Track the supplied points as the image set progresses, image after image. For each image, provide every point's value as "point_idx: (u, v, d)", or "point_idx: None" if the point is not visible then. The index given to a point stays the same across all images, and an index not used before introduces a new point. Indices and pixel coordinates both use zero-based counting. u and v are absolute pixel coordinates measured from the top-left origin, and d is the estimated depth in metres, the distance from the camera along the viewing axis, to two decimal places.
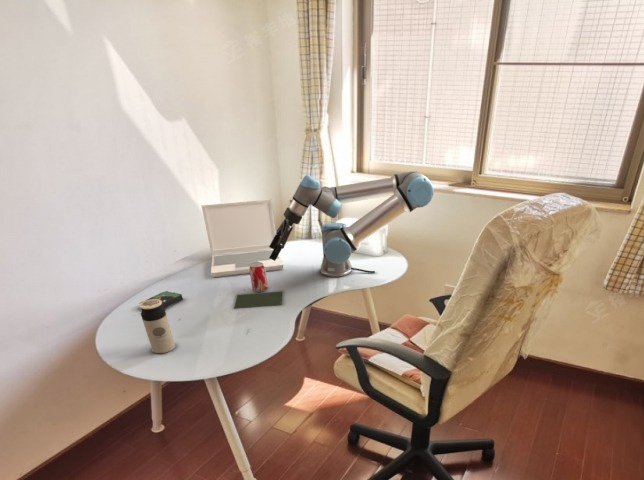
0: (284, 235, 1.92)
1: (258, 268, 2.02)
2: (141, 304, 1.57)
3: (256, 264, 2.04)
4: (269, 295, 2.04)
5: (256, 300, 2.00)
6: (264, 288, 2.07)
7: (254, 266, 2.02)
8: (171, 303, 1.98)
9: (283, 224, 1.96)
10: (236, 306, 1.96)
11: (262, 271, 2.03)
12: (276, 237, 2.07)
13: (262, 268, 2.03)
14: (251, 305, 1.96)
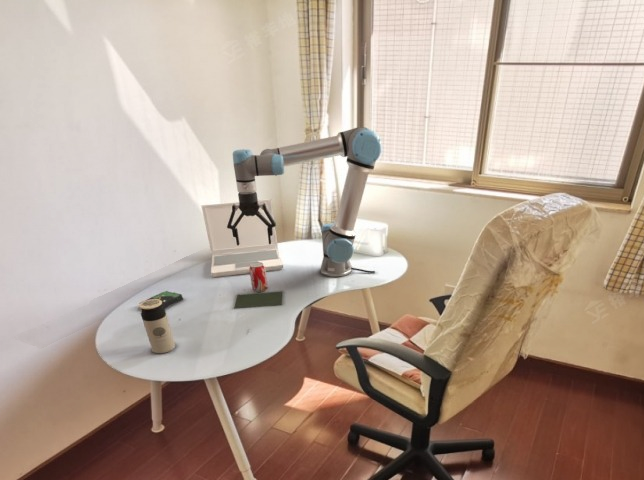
0: (269, 214, 1.92)
1: (258, 268, 2.02)
2: (141, 304, 1.57)
3: (256, 264, 2.04)
4: (269, 295, 2.04)
5: (256, 300, 2.00)
6: (264, 288, 2.07)
7: (254, 266, 2.02)
8: (171, 303, 1.98)
9: (252, 210, 1.89)
10: (236, 306, 1.96)
11: (262, 271, 2.03)
12: (237, 231, 1.94)
13: (262, 268, 2.03)
14: (251, 305, 1.96)
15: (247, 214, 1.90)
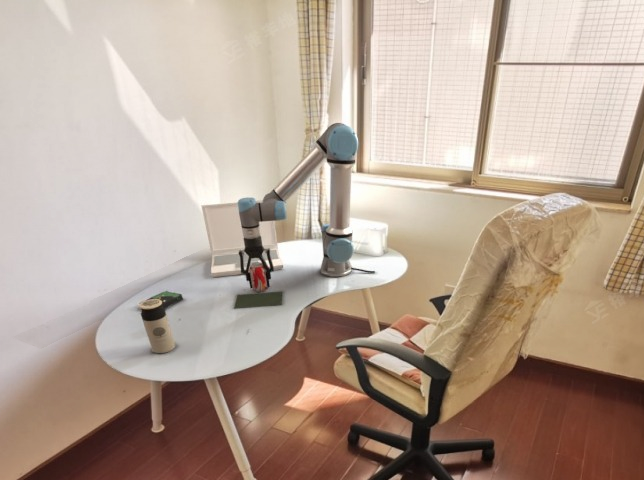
0: (271, 259, 2.02)
1: (258, 268, 2.02)
2: (141, 304, 1.57)
3: (256, 264, 2.04)
4: (269, 295, 2.04)
5: (256, 300, 2.00)
6: (264, 288, 2.07)
7: (254, 266, 2.02)
8: (171, 303, 1.98)
9: (257, 253, 1.99)
10: (236, 306, 1.96)
11: (262, 271, 2.03)
12: None
13: (262, 268, 2.03)
14: (251, 305, 1.96)
15: (252, 256, 2.00)
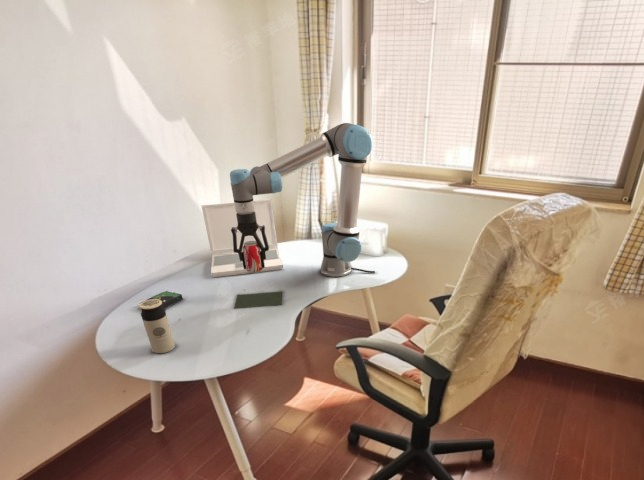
0: (265, 237, 1.89)
1: (252, 247, 1.88)
2: (141, 304, 1.57)
3: (250, 243, 1.90)
4: (269, 295, 2.04)
5: (256, 300, 2.00)
6: (258, 269, 1.93)
7: (248, 245, 1.89)
8: (171, 303, 1.98)
9: (250, 230, 1.85)
10: (236, 306, 1.96)
11: (256, 250, 1.89)
12: (243, 255, 1.92)
13: (256, 247, 1.89)
14: (251, 305, 1.96)
15: (246, 234, 1.87)
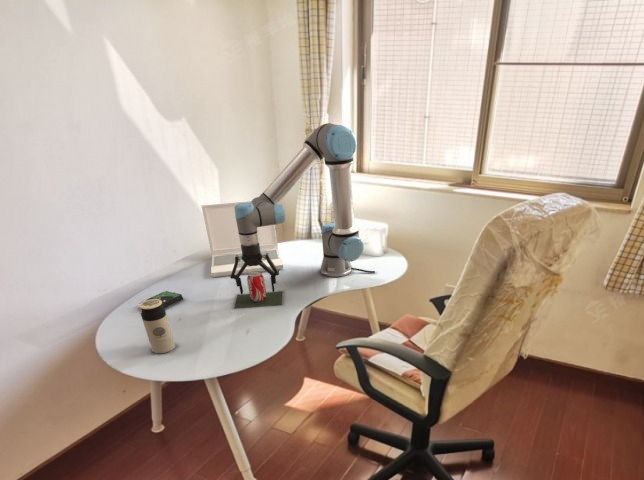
0: (272, 263, 1.92)
1: (256, 277, 1.92)
2: (141, 304, 1.57)
3: (254, 273, 1.95)
4: (269, 295, 2.04)
5: None
6: (262, 298, 1.98)
7: (252, 275, 1.93)
8: (171, 303, 1.98)
9: (255, 261, 1.89)
10: (236, 306, 1.96)
11: (260, 281, 1.94)
12: (240, 281, 1.95)
13: (260, 277, 1.93)
14: (251, 305, 1.96)
15: (250, 264, 1.91)
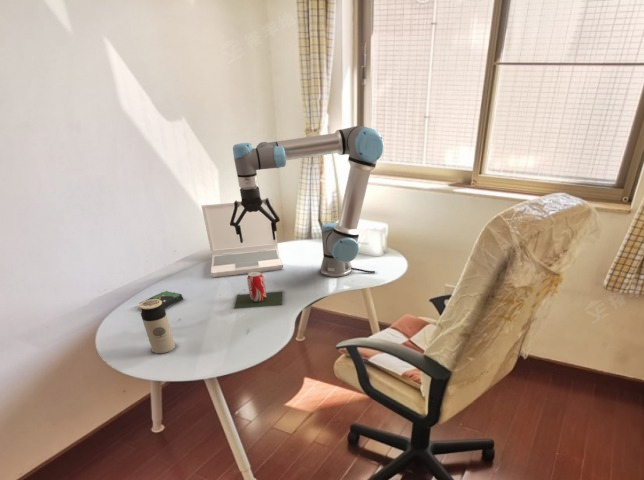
0: (273, 209, 1.87)
1: (256, 277, 1.92)
2: (141, 304, 1.57)
3: (254, 273, 1.95)
4: (269, 295, 2.04)
5: None
6: (262, 298, 1.98)
7: (252, 275, 1.93)
8: (171, 303, 1.98)
9: (255, 206, 1.84)
10: (236, 306, 1.96)
11: (260, 281, 1.94)
12: (240, 228, 1.89)
13: (260, 277, 1.93)
14: (251, 305, 1.96)
15: (250, 210, 1.85)
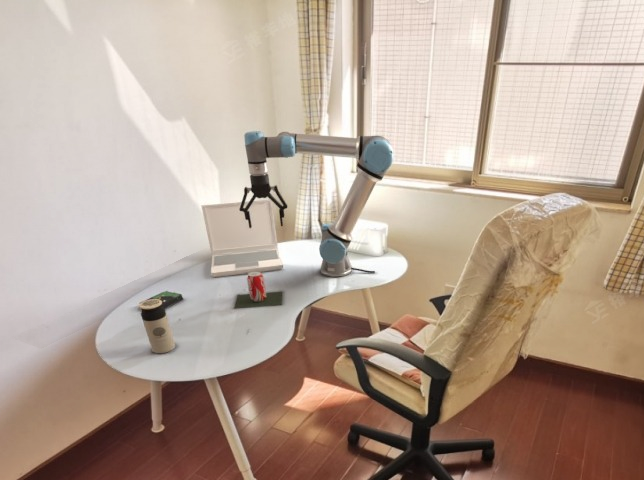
0: (281, 196, 1.94)
1: (256, 277, 1.92)
2: (141, 304, 1.57)
3: (254, 273, 1.95)
4: (269, 295, 2.04)
5: None
6: (262, 298, 1.98)
7: (252, 275, 1.93)
8: (171, 303, 1.98)
9: (264, 192, 1.91)
10: (236, 306, 1.96)
11: (260, 281, 1.94)
12: (249, 214, 1.96)
13: (260, 277, 1.93)
14: (251, 305, 1.96)
15: (259, 196, 1.92)
